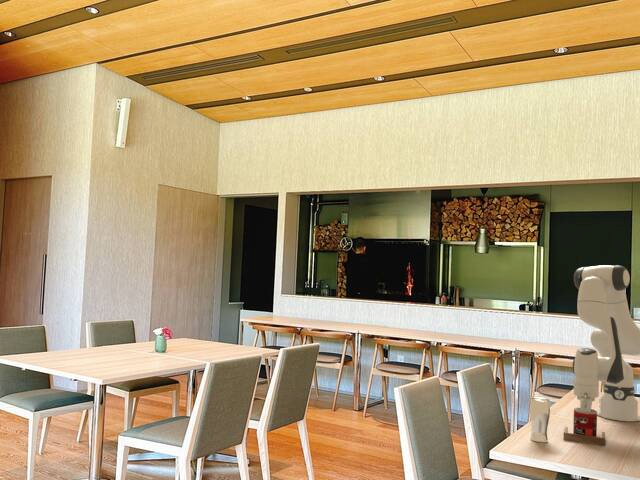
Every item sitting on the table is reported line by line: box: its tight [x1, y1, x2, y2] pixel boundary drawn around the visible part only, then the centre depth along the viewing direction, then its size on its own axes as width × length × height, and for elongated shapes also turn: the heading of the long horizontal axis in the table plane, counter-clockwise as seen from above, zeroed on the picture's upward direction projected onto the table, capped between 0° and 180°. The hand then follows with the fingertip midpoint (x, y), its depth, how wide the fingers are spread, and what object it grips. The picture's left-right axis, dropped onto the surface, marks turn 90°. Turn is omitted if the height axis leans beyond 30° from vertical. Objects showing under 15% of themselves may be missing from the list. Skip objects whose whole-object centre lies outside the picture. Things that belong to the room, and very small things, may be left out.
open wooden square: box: [563, 426, 606, 447], centre depth 225 cm, size 10×14×2 cm
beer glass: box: [529, 396, 551, 444], centre depth 220 cm, size 7×7×15 cm
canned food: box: [573, 407, 598, 437], centre depth 224 cm, size 8×8×11 cm
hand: (585, 427), depth 232 cm, fingers closed
